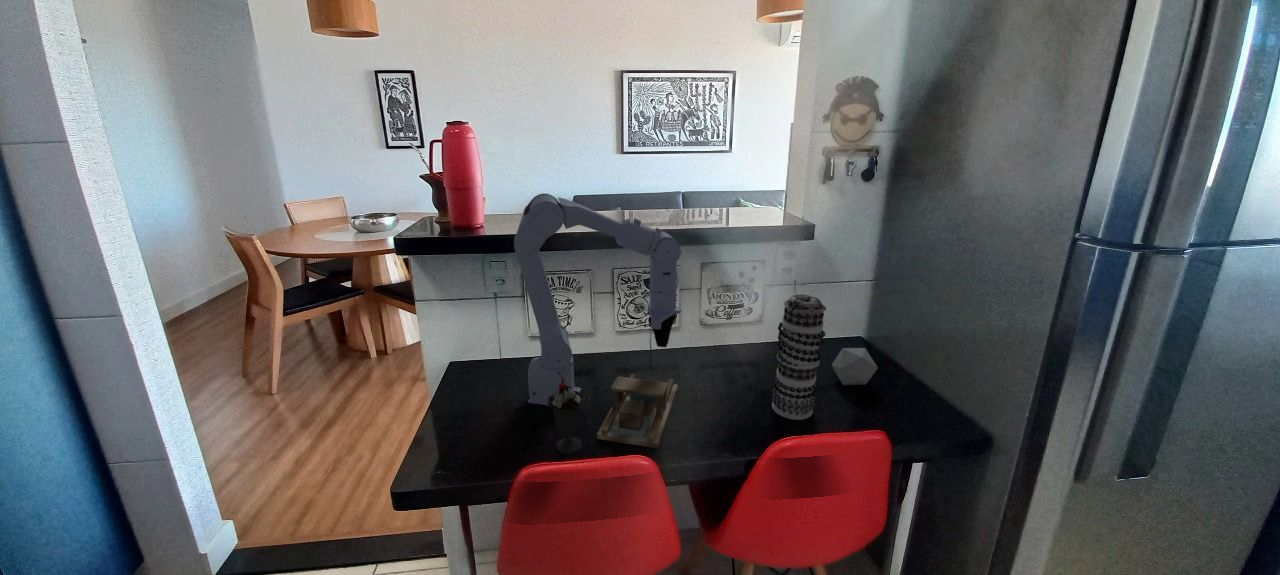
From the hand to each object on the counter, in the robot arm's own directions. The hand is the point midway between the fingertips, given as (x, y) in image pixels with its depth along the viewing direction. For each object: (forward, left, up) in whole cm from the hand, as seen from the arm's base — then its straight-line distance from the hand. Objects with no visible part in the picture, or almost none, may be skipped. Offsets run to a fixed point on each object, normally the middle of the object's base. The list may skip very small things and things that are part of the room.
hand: (662, 345), depth 113 cm
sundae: (-13, -26, -10) cm, 31 cm away
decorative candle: (+29, -3, -10) cm, 31 cm away
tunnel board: (-2, -12, -10) cm, 16 cm away
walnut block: (-2, -19, -8) cm, 21 cm away
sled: (-2, -15, -9) cm, 18 cm away
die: (+43, +12, -10) cm, 46 cm away
